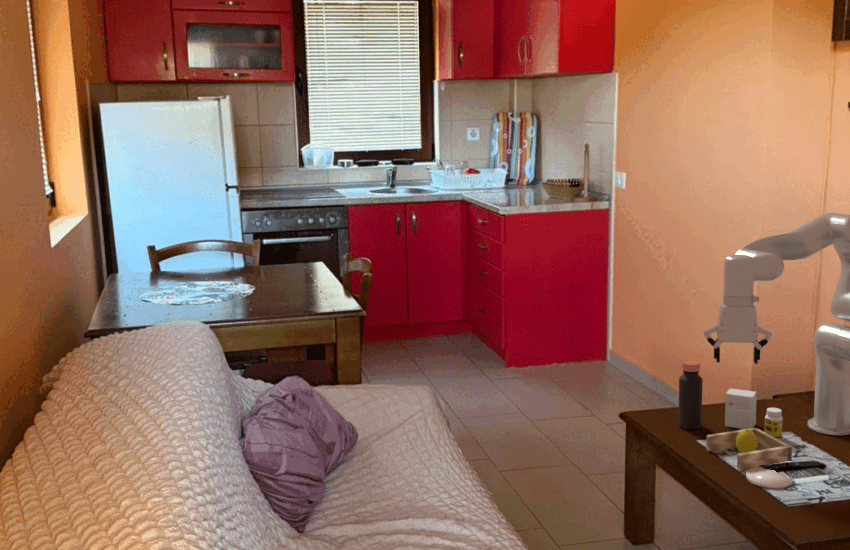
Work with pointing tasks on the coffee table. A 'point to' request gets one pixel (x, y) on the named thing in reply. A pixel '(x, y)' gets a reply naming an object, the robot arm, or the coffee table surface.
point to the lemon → (746, 441)
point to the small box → (740, 409)
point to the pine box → (745, 461)
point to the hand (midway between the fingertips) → (736, 361)
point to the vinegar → (690, 396)
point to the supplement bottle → (774, 422)
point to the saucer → (767, 478)
